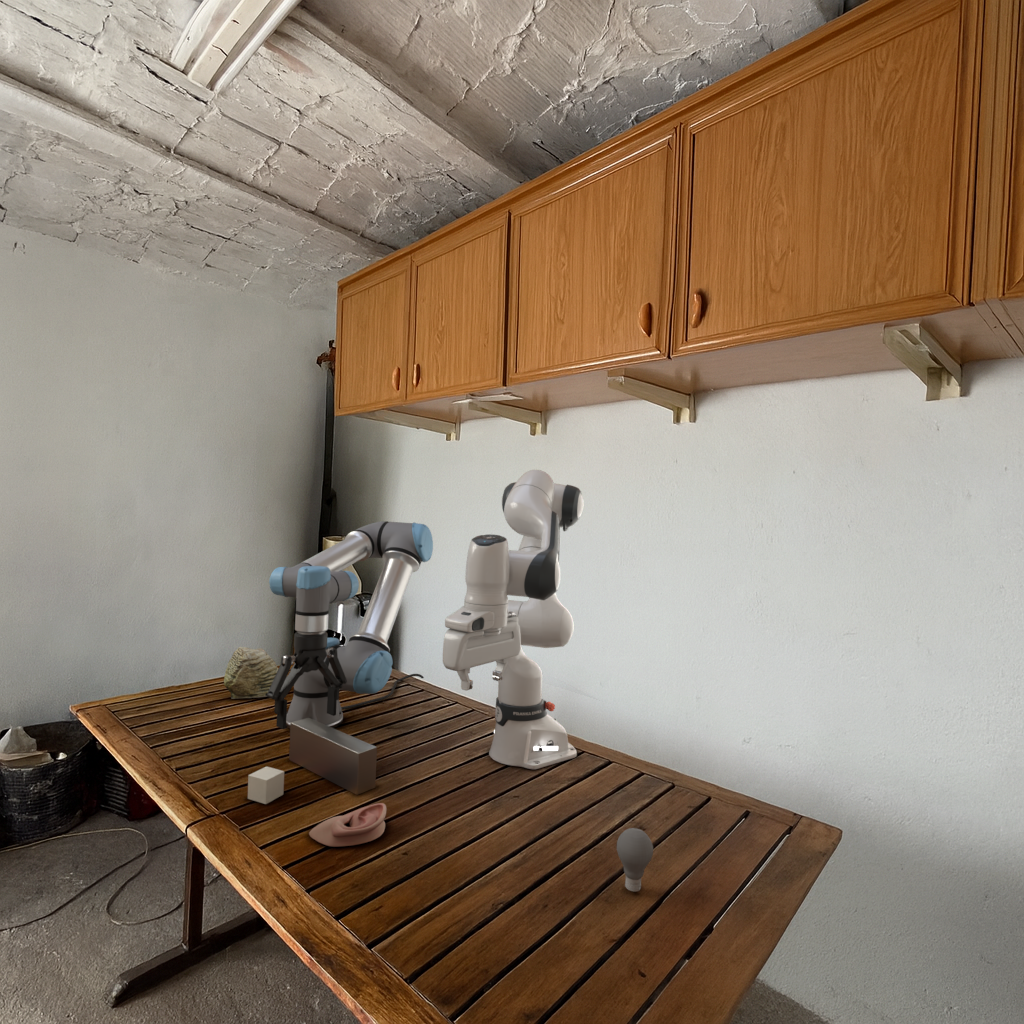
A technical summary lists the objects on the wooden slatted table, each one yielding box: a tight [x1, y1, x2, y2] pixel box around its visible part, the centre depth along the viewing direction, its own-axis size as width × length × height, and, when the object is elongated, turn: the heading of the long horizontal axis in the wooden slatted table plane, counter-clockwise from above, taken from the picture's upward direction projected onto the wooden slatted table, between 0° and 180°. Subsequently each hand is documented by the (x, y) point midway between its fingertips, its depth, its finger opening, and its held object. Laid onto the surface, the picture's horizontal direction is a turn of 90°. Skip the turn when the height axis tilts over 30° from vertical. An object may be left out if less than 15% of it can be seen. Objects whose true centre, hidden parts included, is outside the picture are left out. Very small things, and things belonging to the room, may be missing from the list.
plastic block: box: [247, 766, 285, 805], centre depth 133 cm, size 5×5×5 cm
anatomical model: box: [308, 802, 387, 848], centre depth 120 cm, size 13×4×12 cm
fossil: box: [223, 646, 279, 700], centre depth 198 cm, size 9×18×15 cm, turn 132°
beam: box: [288, 718, 378, 796], centre depth 145 cm, size 5×26×9 cm, turn 51°
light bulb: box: [616, 827, 654, 893], centre depth 106 cm, size 6×6×10 cm
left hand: (307, 720), depth 151 cm, fingers open, 13 cm apart
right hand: (482, 684), depth 127 cm, fingers open, 8 cm apart
